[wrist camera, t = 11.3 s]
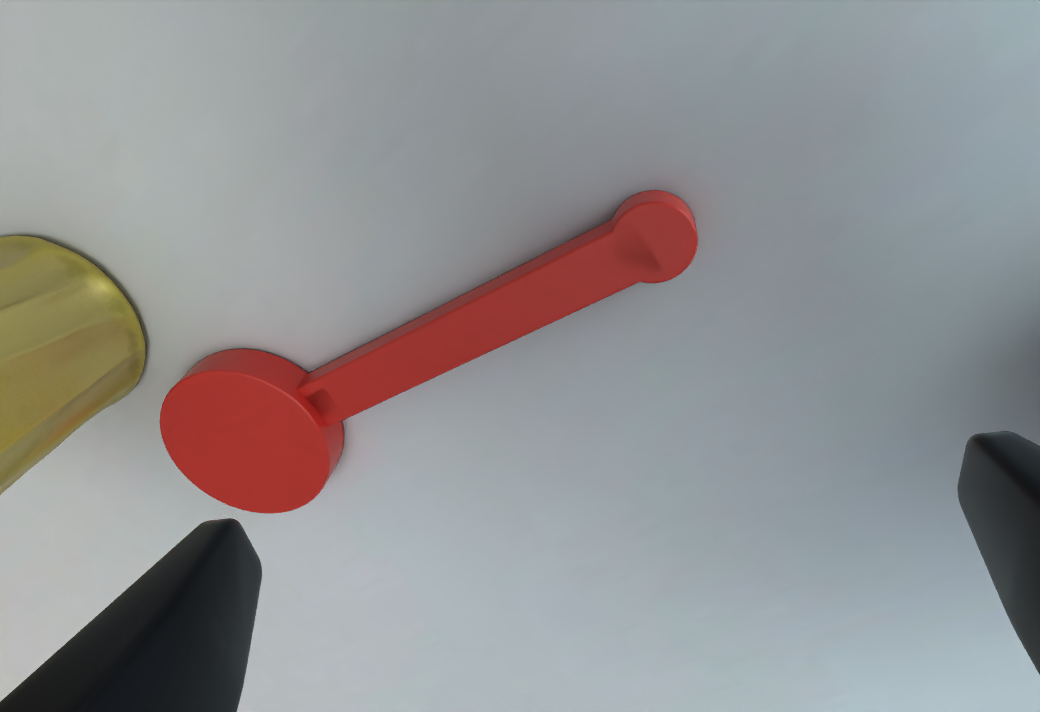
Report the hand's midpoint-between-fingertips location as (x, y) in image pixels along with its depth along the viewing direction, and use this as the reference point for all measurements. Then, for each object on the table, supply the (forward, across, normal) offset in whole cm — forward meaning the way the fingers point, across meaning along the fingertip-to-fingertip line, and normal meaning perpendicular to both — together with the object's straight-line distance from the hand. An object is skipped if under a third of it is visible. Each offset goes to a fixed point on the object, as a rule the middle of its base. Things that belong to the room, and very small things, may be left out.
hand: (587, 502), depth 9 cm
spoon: (+12, +5, +5) cm, 14 cm away
